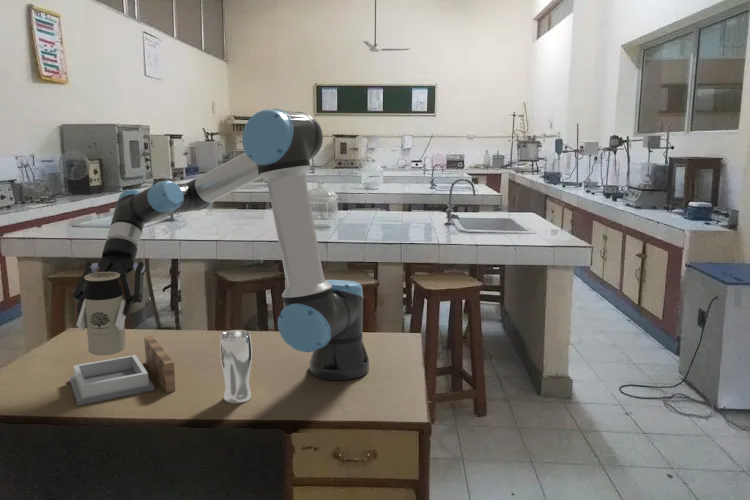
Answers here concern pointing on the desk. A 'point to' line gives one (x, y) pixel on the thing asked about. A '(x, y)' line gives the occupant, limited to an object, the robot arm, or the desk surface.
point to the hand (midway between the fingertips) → (99, 327)
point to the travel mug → (103, 313)
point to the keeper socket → (109, 379)
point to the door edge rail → (160, 364)
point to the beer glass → (236, 364)
